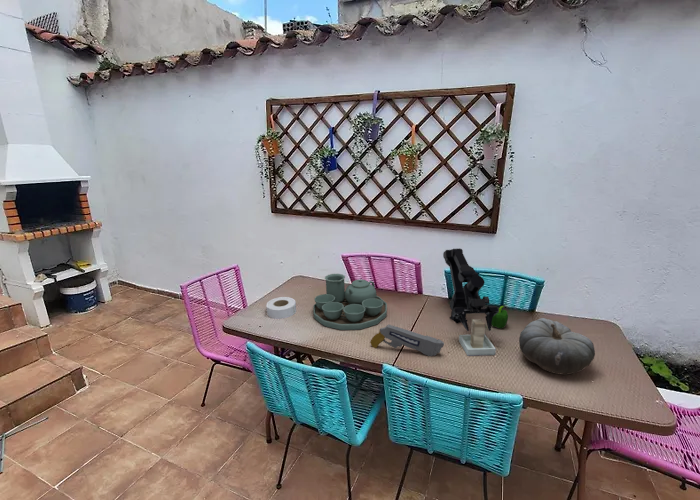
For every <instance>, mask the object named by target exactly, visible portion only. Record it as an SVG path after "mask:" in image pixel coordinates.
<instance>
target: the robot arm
mask: <svg viewBox="0 0 700 500" xmlns="http://www.w3.org/2000/svg"><path fill="white" fill-rule="evenodd" d="M442 255H443V259H444V262H445V264H446V265H447V266H448V268H449V272H450V278H451V281H452V282H451V283H452V287H453V288H452V289H453V294H452V296H451V300H450V301H449V308H450V309H451V312H450V316H449V319H450V320H452V321H453V322H454V323H455V324H462V325H463V327H464V329H465V330H466V332H469V330H470V329H469V328H470V327H469V325H468V321H469V319H467V314H471V315H472V314H484V315H485V317H484V318H485V321H486V326H487V329H488V331H489V332H490V331H491V329H492V325H491V323H492V318H493V316H494V315H496V314H497V313H498V312H499V309H498V308H499V307H498V306H497V305H489V304H490V297H489V295H487V296H486V295H485V296H482V298H481V296H480V295H479V292H480V290H481V289H482V288H483V287H484V285H485V279H484V278H483V276H480V275H479V272H477V271H476V270H475V268H474V267H472V266H471V265H469V263H468V260H467V259H466V257H465V254H464V251H463V249H462V248H453V249H445V251H443V253H442ZM463 283H465V284H463ZM487 305H488V306H487ZM486 306H487V307H486ZM484 307H486V308H484Z"/></svg>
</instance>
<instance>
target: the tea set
mask: <svg viewBox="0 0 700 500" xmlns="http://www.w3.org/2000/svg"><path fill="white" fill-rule="evenodd" d="M324 279H325V289H326V292H325V293H323V294H319V295H316V296H315V297H314V302H315V304H313V306H312V309H313V319H314V320H316V321H317V322H318V323H320V324H321V325H322V326H324V327H327V328H332V329H335V330H339V331H351V330H353V331H356V330H364V329H367V328H370V327H373V326H375V325H378V324H379V323H380V322H381V321H382V320H384V319H385V318H386V317H387V315H388V314H387V312H388V303H387V302H386V301H385V300H384V299H382V298H381V297H380V296H378V295H377V290H376V288H375V283H374V281H372V280H370V281H368V280H366V279H356V280H353V281H352V282H351V283H350V284H349V285H348V286H347V287H346V288H345V279H346V276H345V275H344V274H341V273H330V274H327V275H326V276H324Z"/></svg>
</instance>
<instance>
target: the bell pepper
mask: <svg viewBox="0 0 700 500" xmlns="http://www.w3.org/2000/svg"><path fill="white" fill-rule="evenodd" d="M498 309H499V312H498V313H497V314H496V315H494V316H493V318H492V323H491V327H494V328H495V327H496V328H497V329H504V328H505V327H506V325H507V323H508V319H509V314H508V311H507V310H506V309H504V305H500V307H498Z"/></svg>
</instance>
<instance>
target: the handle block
mask: <svg viewBox="0 0 700 500" xmlns="http://www.w3.org/2000/svg"><path fill="white" fill-rule="evenodd" d="M485 327H486V323H485V322H484V320H483V319H482V318H481V319H479V318H476V319H471V329H470V330H471V331H470V335H471V340H470V345H471V346H472V348H483V341H484V334H485V330H486V329H485Z"/></svg>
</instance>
